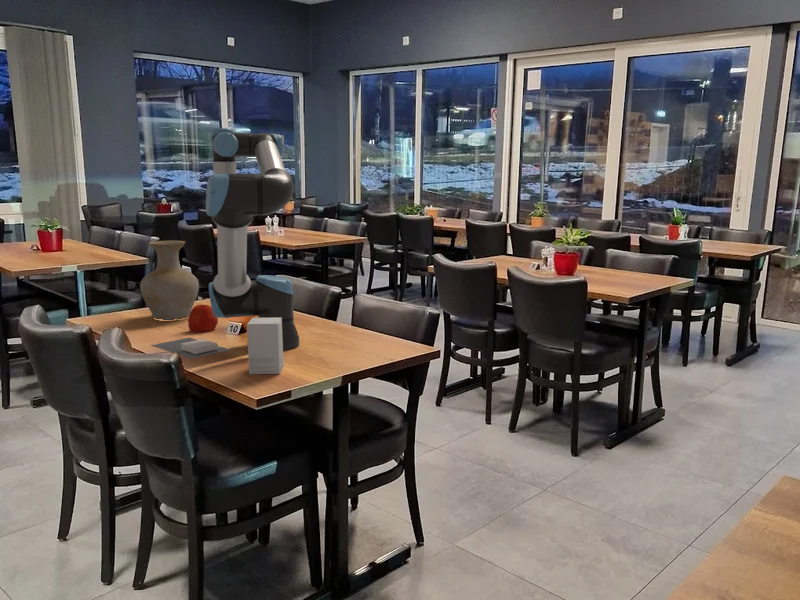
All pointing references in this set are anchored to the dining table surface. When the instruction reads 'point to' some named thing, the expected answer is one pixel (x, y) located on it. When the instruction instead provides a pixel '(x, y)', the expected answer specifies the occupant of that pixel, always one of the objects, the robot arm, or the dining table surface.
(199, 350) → the tile
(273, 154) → the robot arm
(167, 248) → the vase
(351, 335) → the dining table surface
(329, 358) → the dining table surface
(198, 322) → the apple
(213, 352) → the slate board
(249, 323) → the supplement box
